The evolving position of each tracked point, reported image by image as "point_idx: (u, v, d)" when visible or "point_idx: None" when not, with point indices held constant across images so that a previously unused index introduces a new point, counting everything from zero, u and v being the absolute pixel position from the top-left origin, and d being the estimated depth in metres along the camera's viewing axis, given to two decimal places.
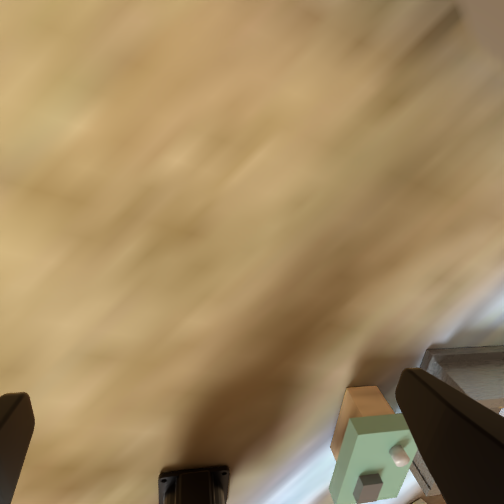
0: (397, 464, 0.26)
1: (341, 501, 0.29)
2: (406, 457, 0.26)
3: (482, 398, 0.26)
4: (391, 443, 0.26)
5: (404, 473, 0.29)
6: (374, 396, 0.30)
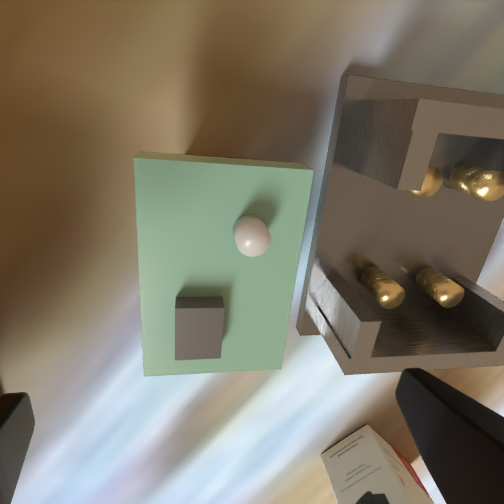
0: (241, 245, 0.11)
1: (154, 364, 0.14)
2: (260, 227, 0.11)
3: (442, 102, 0.11)
4: (233, 205, 0.12)
5: (285, 305, 0.14)
6: None
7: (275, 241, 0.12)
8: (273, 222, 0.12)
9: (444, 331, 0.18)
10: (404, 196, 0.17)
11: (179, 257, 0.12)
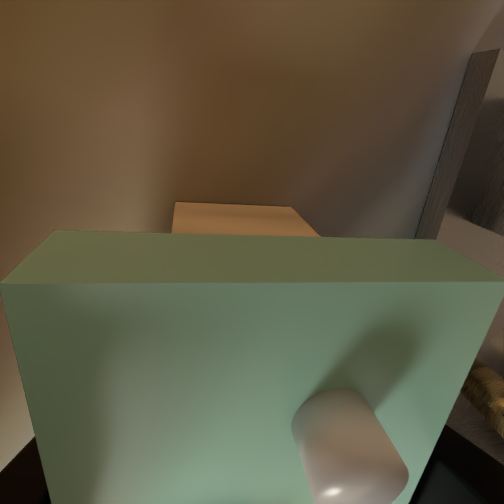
0: None
1: None
2: (385, 461, 0.04)
3: None
4: (297, 373, 0.04)
5: None
6: (269, 220, 0.08)
7: (387, 432, 0.05)
8: (389, 398, 0.05)
9: None
10: None
11: (158, 488, 0.05)
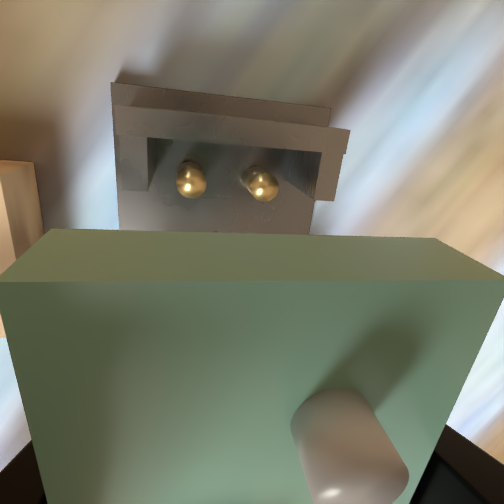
0: None
1: None
2: (385, 462, 0.04)
3: (143, 108, 0.12)
4: (297, 373, 0.04)
5: None
6: (2, 164, 0.15)
7: (387, 432, 0.05)
8: (389, 398, 0.05)
9: None
10: (201, 197, 0.18)
11: (156, 489, 0.05)
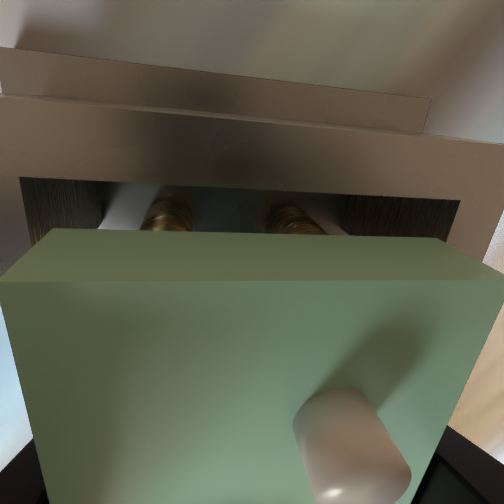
0: None
1: None
2: (388, 462, 0.04)
3: (0, 97, 0.04)
4: (299, 372, 0.04)
5: None
6: None
7: (389, 432, 0.05)
8: (391, 397, 0.05)
9: None
10: None
11: (158, 489, 0.05)
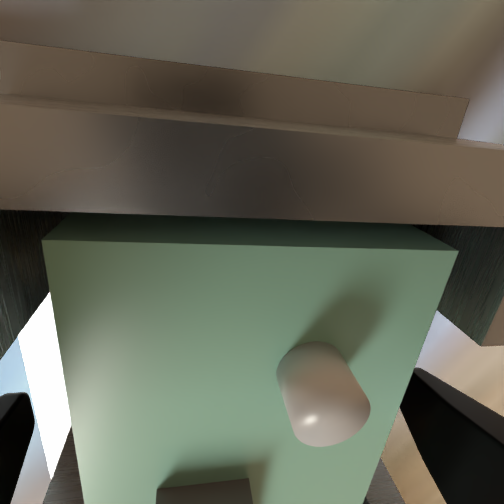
0: (303, 430, 0.05)
1: None
2: (350, 393, 0.05)
3: None
4: (281, 326, 0.05)
5: (362, 478, 0.07)
6: None
7: (359, 384, 0.06)
8: (360, 352, 0.06)
9: None
10: None
11: (163, 426, 0.06)
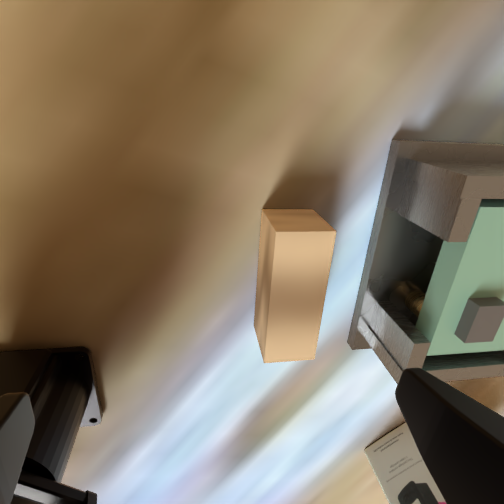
0: None
1: (436, 347, 0.19)
2: None
3: (484, 175, 0.14)
4: None
5: None
6: (304, 215, 0.18)
7: None
8: None
9: None
10: None
11: (481, 270, 0.17)
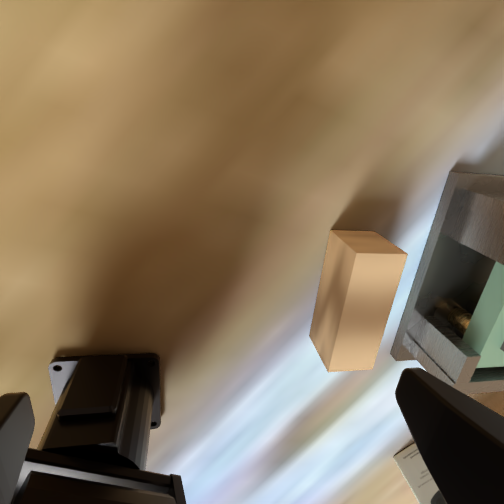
0: None
1: (483, 360, 0.21)
2: None
3: None
4: None
5: None
6: (371, 237, 0.20)
7: None
8: None
9: None
10: None
11: None
